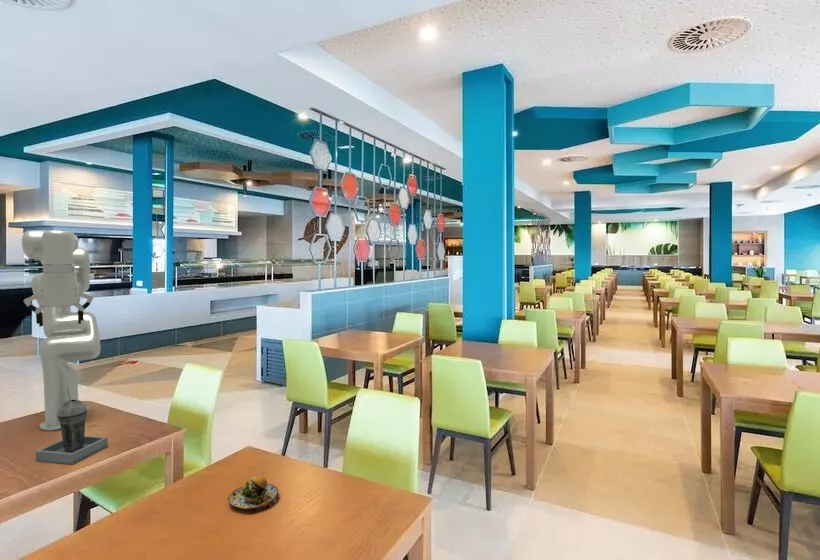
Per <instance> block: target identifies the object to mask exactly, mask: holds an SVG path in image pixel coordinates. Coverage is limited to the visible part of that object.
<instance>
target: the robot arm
mask: <svg viewBox="0 0 820 560" xmlns="http://www.w3.org/2000/svg"><path fill="white" fill-rule="evenodd" d="M21 247H22V251H23V255H25V256H26V257H27V258H29V259H31V260H34V261H39V262H40V263H41V264H42V271H43V272H39V273H37V274H35V275H34V276H33V277H32V279H31V289H32V294H33V295H31V296H29V297H27V298H24V299H23V303H24V304H25V305H26V307H27V308H28V310H30V311H31V312H33V313H35V318H36V320H35V321H36V325H39V328H40V327H42V328H43V333H44V336H45V338H44V339H42V340H41V341H40V342H39V345H38V353H39V359H40V362H41V367H42V376H43V377H42V378H43V379H42V380H43V395H44V397H43V398H44V400H43V401H44V421H43V422H41V423H40V424H39V429H41V430H42V431H58V430H59V431H61V426H60V423H59V419H58V411H59V408H60V407H61V406H62V405H63V404H64V403H65V402H67V401H69V398H68V391H67V387H69V390H70V396H71V400H79V388H78V387H79V386H78V385H79V384H78V381H79V380H78V371H76V369H75V368H74V367H73V366H71V365H70V364H69V363H72V362H79V361H86V360H87V361H88V360H93V359H96V358H97V357H99V356H100V354H101V349H102V348H101V339H100V333H99V327H98V321H97V317H96V316H95V315H94V313H92V312H90V311H85V310H86V309H87V308H88V307H89V306H90V305H91V303H92V301H93V300H94V297H93V295H90V294H88V293H85V292H87V291H88V290H89V289H90V286H91V285H90V283H91V282H90V278H91V277H90V276H91V272H90V271H91V262H90V261H91V258H90V254H89V252H88V250H86V248H85V247H81V246H79V238H78V236H77V235H75V233H73V232H72V231H69V230H59V229H58V230H54V229H53V230H52V229H51V230H45V229H44V230H43V229H41V230H40V229H39V230H38V229H34V230H33V229H31V230H26V231H24V233H23V234H22V237H21ZM81 298H84V299H86V301H85V302H84V303H83V305H82V304H81V303H80V302H81ZM32 301H36V302H37V304H38V305H39V306H38V307H36V306H35V305H33V303H32ZM72 306H73V307H75V308H77V309H78V310H77V312H75V311H72V308H71V307H72ZM85 406H86V410H87V412H88V411H90V410H91V406H90V405H85Z"/></svg>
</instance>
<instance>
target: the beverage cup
mask: <svg viewBox="0 0 820 560" xmlns="http://www.w3.org/2000/svg"><path fill="white" fill-rule="evenodd" d="M67 391H68V398H69V401H67V402H65V403H64V404H63V405H62V406H61V407H60V408H59V411H58V419H59V423H60V426H61V429H60V431H61V438H62V439H61V440H63V445H64V450H65V453H74V452H76V451H78V450H80V449H82V448H83V445H84V436H85V432H86V431H85V429H86V419H87V413H88V411H87V410H86V406H87V405H86V404H85V403H84V402H83V401H81V400H79V399H78V400H71V396H70V390H69V387H67Z"/></svg>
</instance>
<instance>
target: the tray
mask: <svg viewBox="0 0 820 560" xmlns="http://www.w3.org/2000/svg"><path fill="white" fill-rule="evenodd" d="M108 447H109V439H108V437H106V436H94V435H84V445H83V448H82V449H80V450H78V451H76V452H74V453H65V450H64V445H63V439H61V440H59V441H56V442H54V443H52V444H49V445H47V446H45V447H42V448H40V449H37V450H35V453H34V454H35V462H39V463H40V462H41V463H50V464H61V465H62V464H63V465H71V466H72V465H75V464H77V463H79V462H81V461H83V460H85V459H87V458H89V457H90V456H92V455H95V454H96V453H98V452H100V451H102V450H105V449H106V448H108Z"/></svg>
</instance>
